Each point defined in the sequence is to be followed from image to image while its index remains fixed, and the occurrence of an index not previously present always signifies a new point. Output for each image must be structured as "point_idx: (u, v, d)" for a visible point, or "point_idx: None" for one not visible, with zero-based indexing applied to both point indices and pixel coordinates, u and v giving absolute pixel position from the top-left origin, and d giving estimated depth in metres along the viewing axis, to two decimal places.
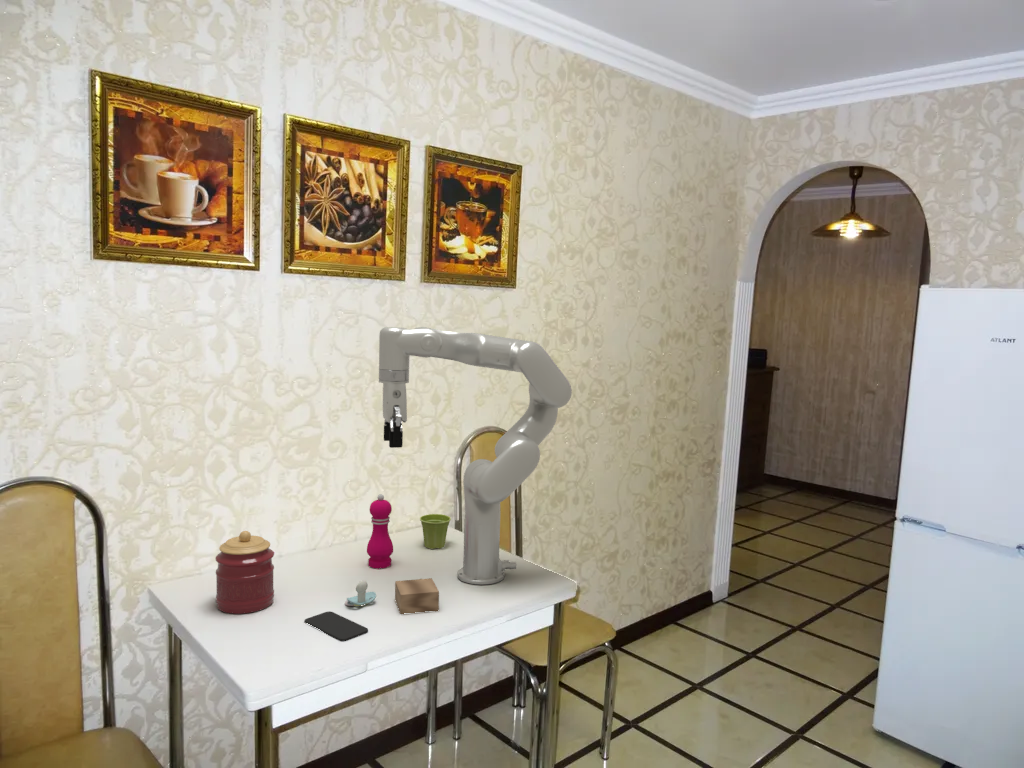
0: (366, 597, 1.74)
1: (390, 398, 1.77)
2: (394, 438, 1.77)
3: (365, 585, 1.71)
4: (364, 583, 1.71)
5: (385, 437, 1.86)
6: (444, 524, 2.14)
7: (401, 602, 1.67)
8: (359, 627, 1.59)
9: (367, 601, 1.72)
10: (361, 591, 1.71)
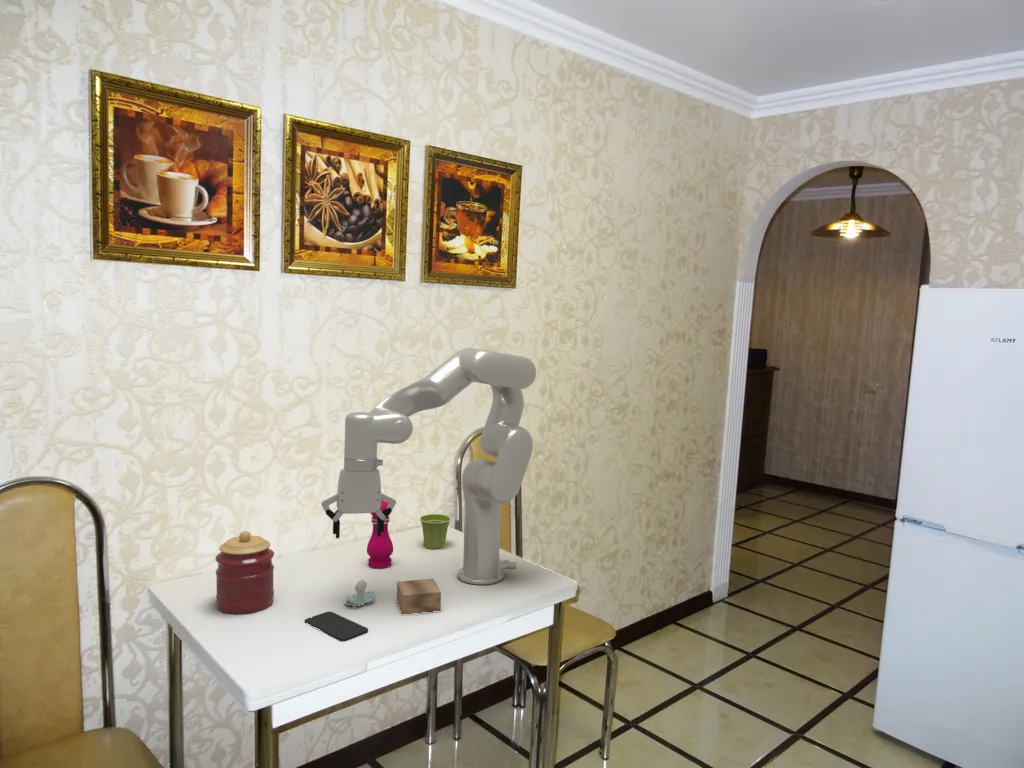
0: (365, 597, 1.74)
1: (380, 486, 1.70)
2: None
3: (364, 585, 1.71)
4: (363, 583, 1.71)
5: None
6: (444, 524, 2.14)
7: (403, 602, 1.67)
8: (359, 627, 1.59)
9: (366, 601, 1.72)
10: (360, 591, 1.71)
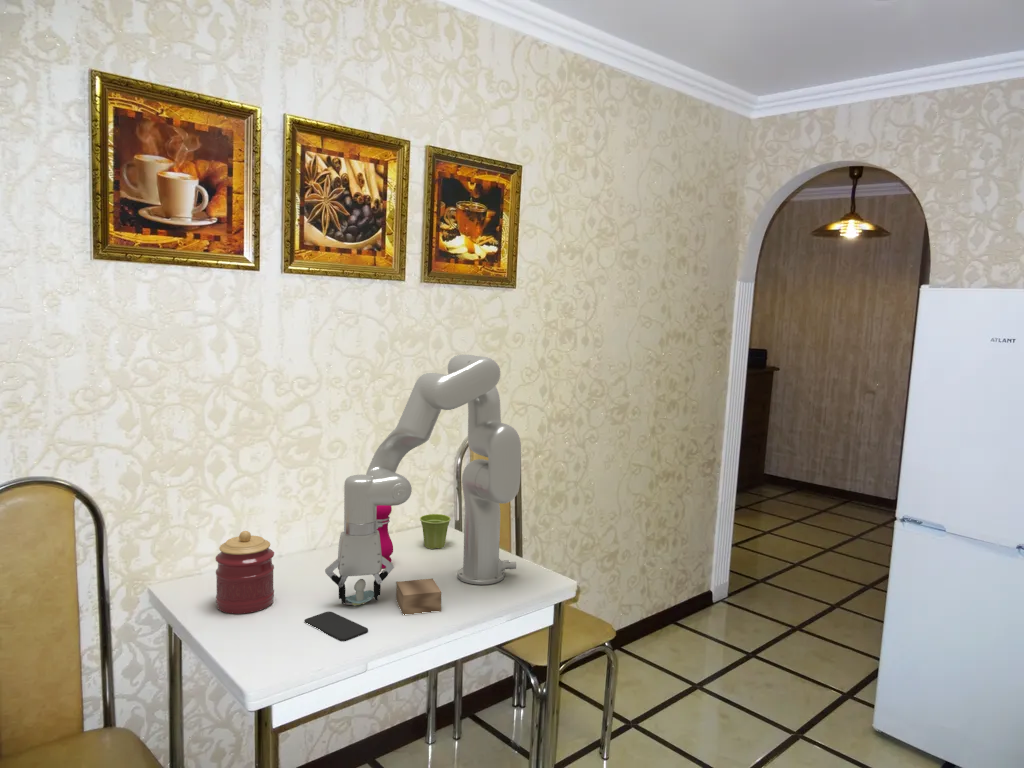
0: (364, 596, 1.74)
1: (380, 548, 1.72)
2: None
3: (363, 584, 1.72)
4: (362, 582, 1.72)
5: None
6: (444, 524, 2.14)
7: (404, 603, 1.67)
8: (359, 627, 1.59)
9: (365, 600, 1.72)
10: (359, 590, 1.71)
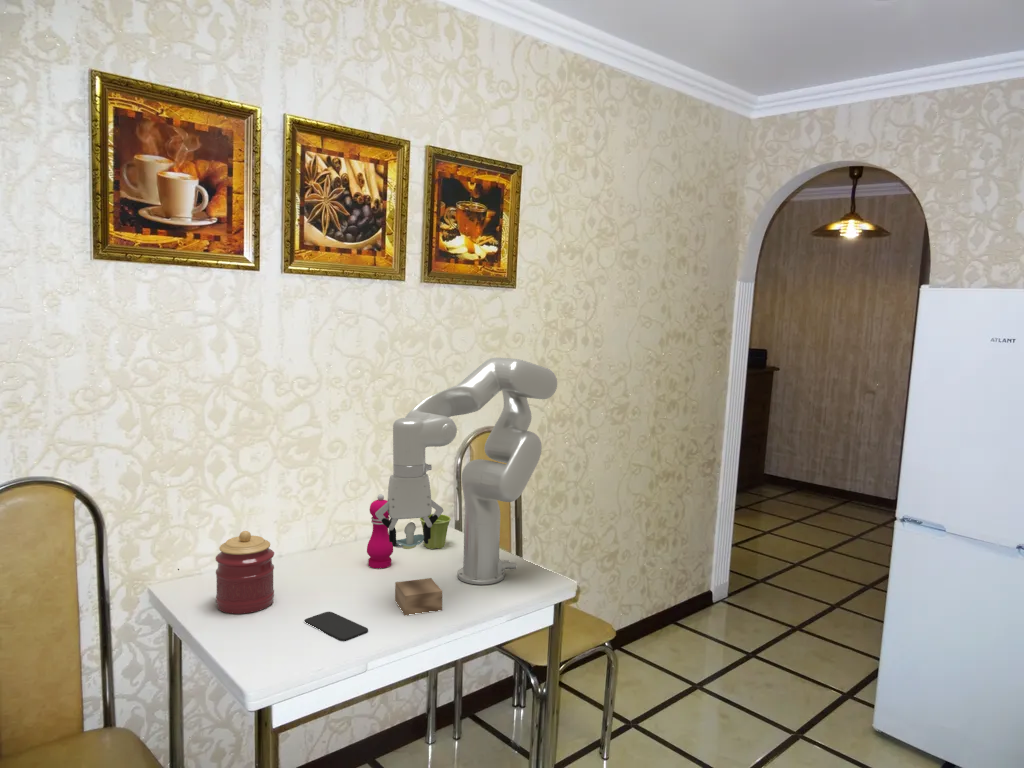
0: (414, 539, 1.74)
1: (430, 491, 1.70)
2: None
3: (413, 527, 1.71)
4: (412, 525, 1.71)
5: (395, 542, 1.70)
6: (444, 524, 2.14)
7: (405, 603, 1.67)
8: (359, 627, 1.59)
9: (416, 543, 1.72)
10: (410, 533, 1.71)
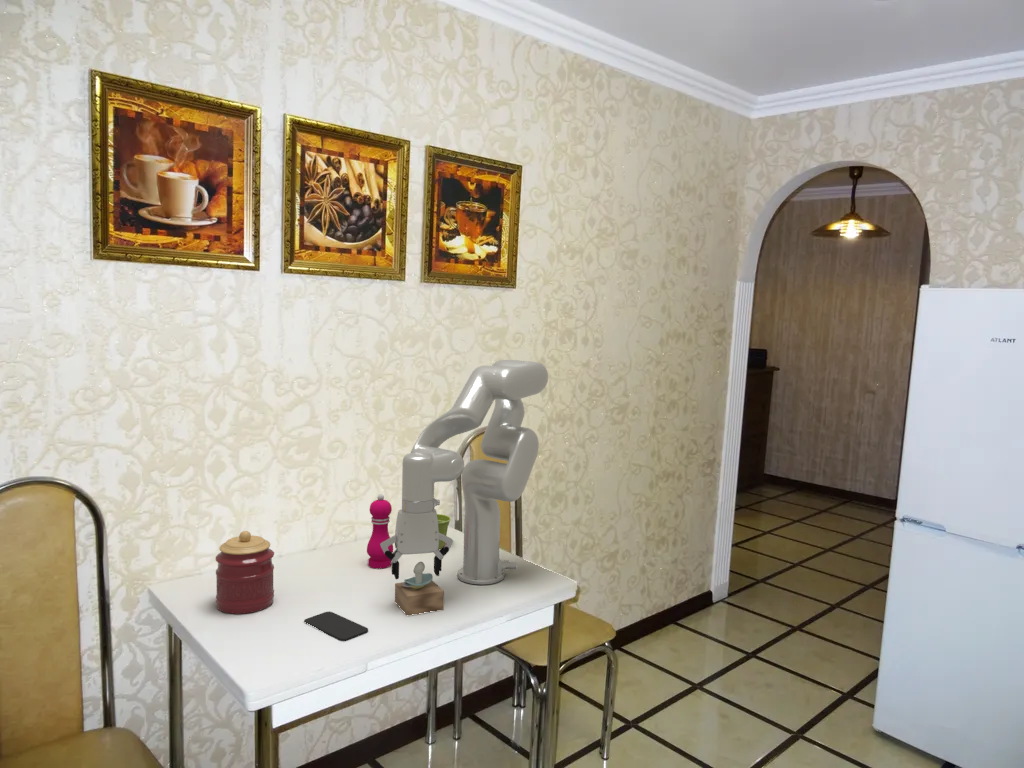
0: (422, 579, 1.74)
1: None
2: None
3: (423, 566, 1.71)
4: (422, 564, 1.71)
5: (398, 575, 1.70)
6: (444, 524, 2.14)
7: (408, 604, 1.66)
8: (359, 627, 1.59)
9: (424, 582, 1.72)
10: (419, 572, 1.71)
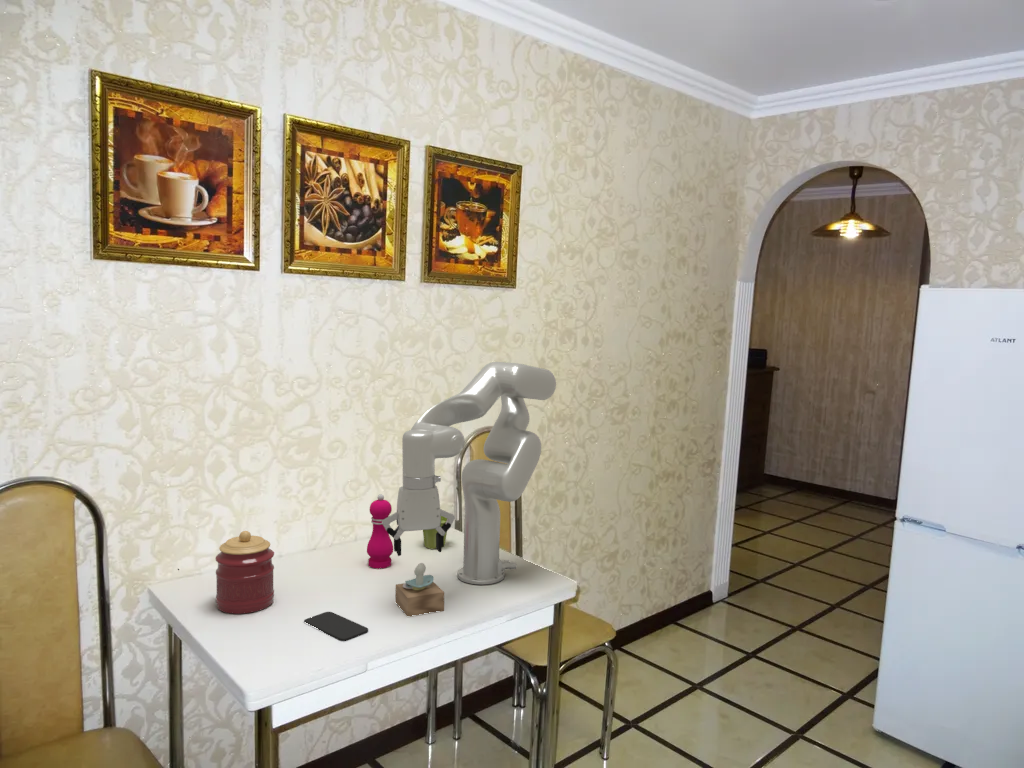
0: (423, 580, 1.73)
1: (439, 503, 1.71)
2: None
3: (424, 568, 1.71)
4: (423, 566, 1.71)
5: (400, 551, 1.70)
6: None
7: (408, 605, 1.66)
8: (359, 627, 1.59)
9: (425, 584, 1.71)
10: (420, 574, 1.70)
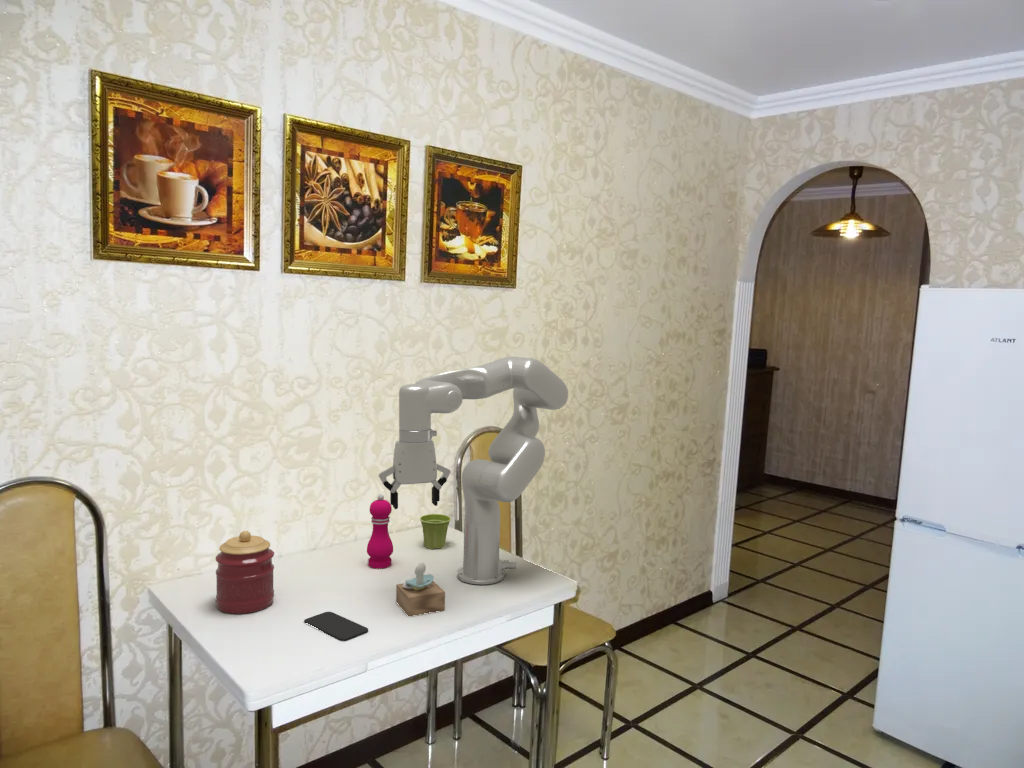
0: (423, 580, 1.73)
1: (435, 456, 1.73)
2: None
3: (424, 567, 1.71)
4: (423, 565, 1.71)
5: (397, 505, 1.71)
6: (444, 524, 2.14)
7: (409, 605, 1.66)
8: (359, 627, 1.59)
9: (425, 583, 1.72)
10: (420, 574, 1.70)
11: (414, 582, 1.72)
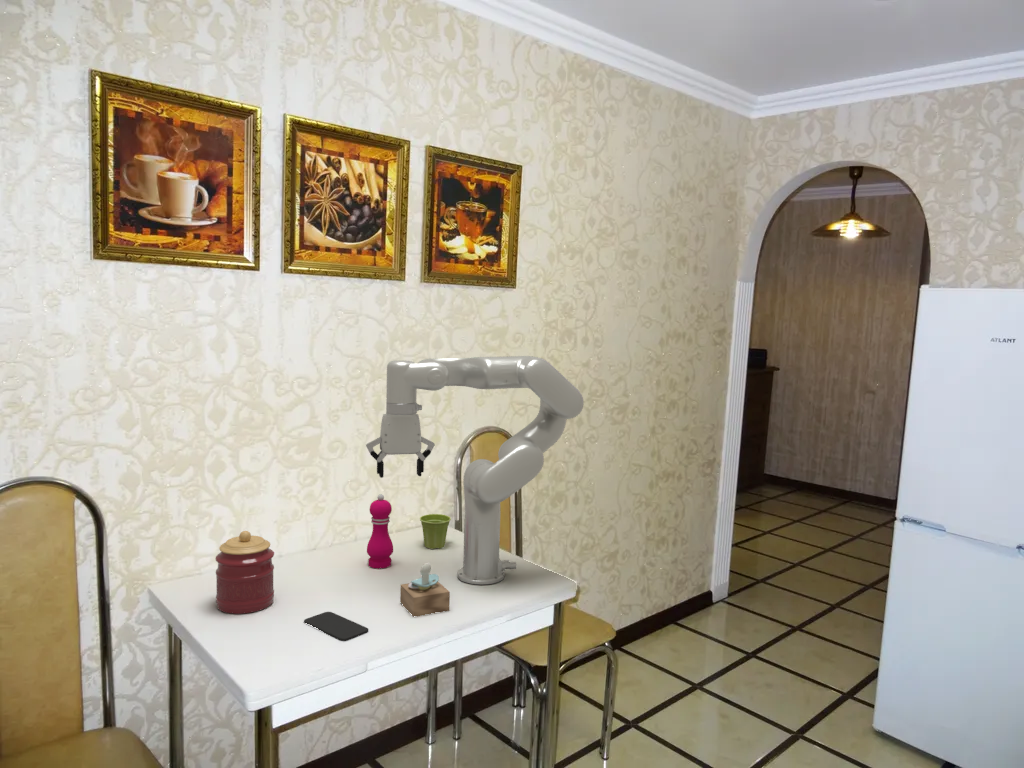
0: (428, 579, 1.74)
1: (420, 429, 1.83)
2: None
3: (429, 567, 1.71)
4: (428, 565, 1.71)
5: None
6: (444, 524, 2.14)
7: (414, 605, 1.66)
8: (359, 627, 1.59)
9: (431, 583, 1.72)
10: (426, 573, 1.71)
11: (419, 582, 1.72)
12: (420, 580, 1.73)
